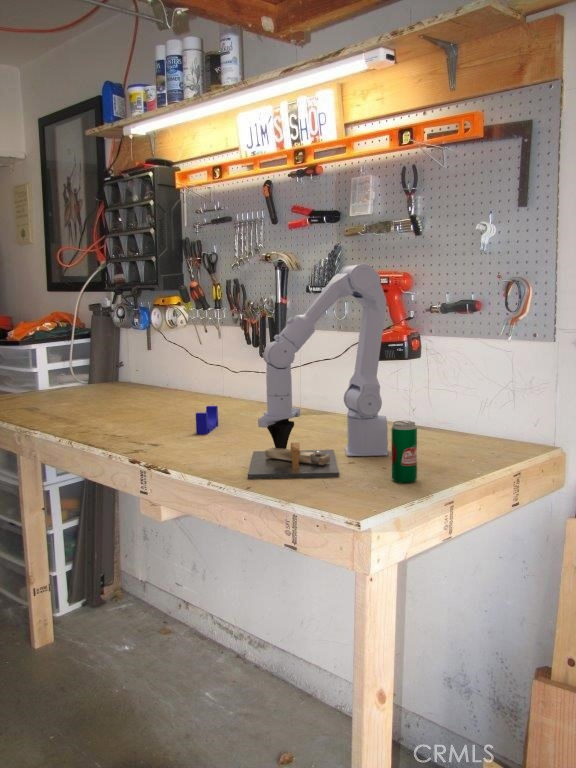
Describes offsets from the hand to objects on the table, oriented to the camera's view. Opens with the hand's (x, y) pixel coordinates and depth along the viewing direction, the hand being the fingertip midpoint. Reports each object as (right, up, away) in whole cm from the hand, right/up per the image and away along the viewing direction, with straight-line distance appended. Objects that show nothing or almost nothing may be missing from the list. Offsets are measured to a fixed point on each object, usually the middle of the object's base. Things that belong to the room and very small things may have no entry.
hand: (280, 452), depth 157 cm
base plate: (+3, -2, -5) cm, 6 cm away
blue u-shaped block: (-22, +2, +36) cm, 42 cm away
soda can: (+25, -4, -19) cm, 32 cm away
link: (+4, -1, -5) cm, 6 cm away
